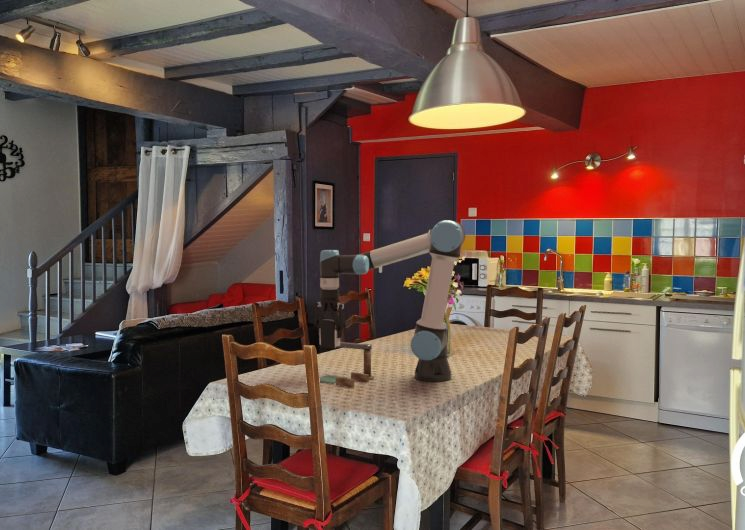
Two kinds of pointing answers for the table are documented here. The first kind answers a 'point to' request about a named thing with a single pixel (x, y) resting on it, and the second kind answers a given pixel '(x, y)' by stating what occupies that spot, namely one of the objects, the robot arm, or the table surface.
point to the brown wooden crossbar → (355, 346)
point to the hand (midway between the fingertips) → (329, 345)
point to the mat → (329, 379)
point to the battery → (327, 333)
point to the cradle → (358, 376)
